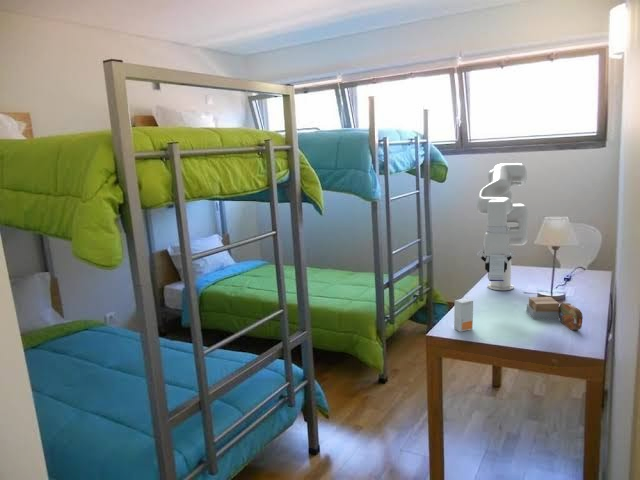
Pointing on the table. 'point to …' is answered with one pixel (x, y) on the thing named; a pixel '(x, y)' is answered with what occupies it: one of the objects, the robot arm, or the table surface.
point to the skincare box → (463, 314)
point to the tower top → (543, 304)
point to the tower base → (542, 314)
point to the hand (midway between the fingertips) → (495, 271)
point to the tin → (570, 316)
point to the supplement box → (496, 267)
